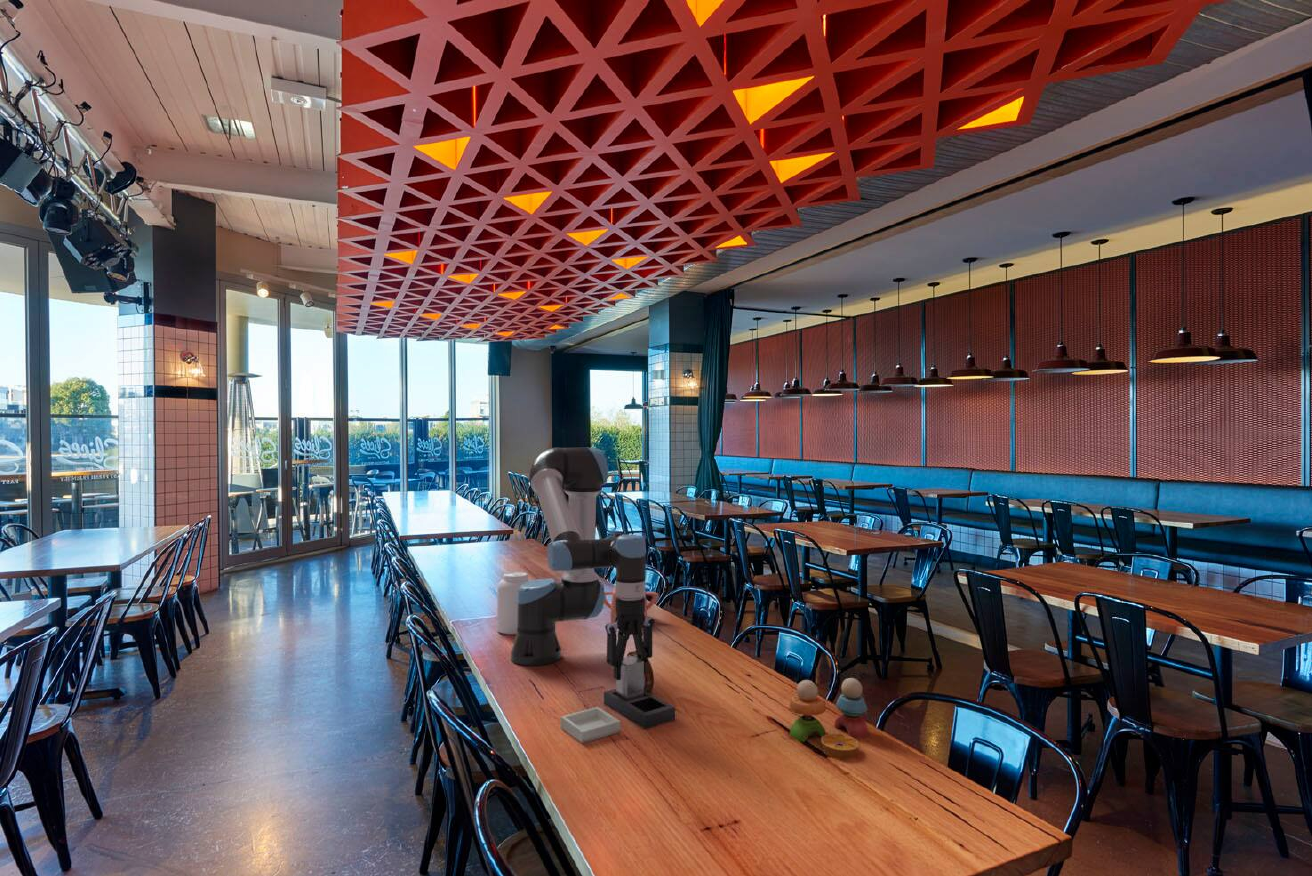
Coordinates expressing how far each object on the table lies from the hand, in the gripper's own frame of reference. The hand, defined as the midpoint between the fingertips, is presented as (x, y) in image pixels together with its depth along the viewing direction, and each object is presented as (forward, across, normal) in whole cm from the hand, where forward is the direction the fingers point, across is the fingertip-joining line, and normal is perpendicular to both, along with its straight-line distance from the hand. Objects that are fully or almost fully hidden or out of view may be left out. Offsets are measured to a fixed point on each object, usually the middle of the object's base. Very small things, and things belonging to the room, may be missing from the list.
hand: (629, 689), depth 165 cm
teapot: (+5, +45, +67) cm, 81 cm away
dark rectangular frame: (+4, 0, -4) cm, 6 cm away
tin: (+5, +10, +10) cm, 15 cm away
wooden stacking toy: (+5, +28, -42) cm, 51 cm away
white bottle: (+4, +4, +78) cm, 78 cm away
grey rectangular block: (+4, 0, 0) cm, 4 cm away
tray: (+4, -15, -6) cm, 17 cm away
